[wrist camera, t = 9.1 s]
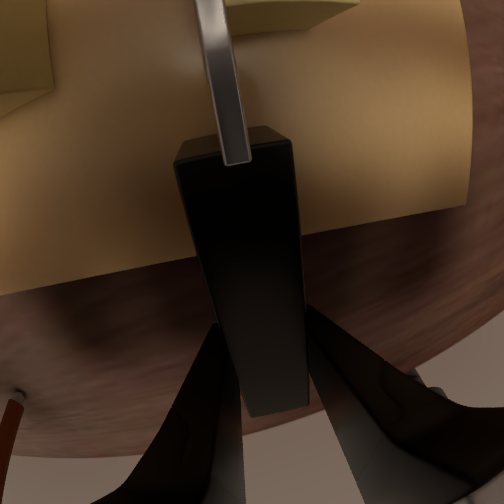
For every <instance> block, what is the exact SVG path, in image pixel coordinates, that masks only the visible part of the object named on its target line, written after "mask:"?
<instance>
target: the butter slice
mask: <svg viewBox="0 0 504 504" xmlns="http://www.w3.org/2000/svg"><path fill="white" fill-rule="evenodd" d="M359 4H360V0H225V5H226V10H227V16H228V21H229V27H230V32H231V36H234V35H242V34H251V33H260V32H272V31H287V30H309V29H311V28H313V27H315V26H317V25H319V24H320V23H322V22H324V21H326V20H328V19H330V18H332V17H334V16H336V15H338V14H340V13H342V12H344V11H346V10H348V9H350V8H352V7H355V6H357V5H359Z"/></svg>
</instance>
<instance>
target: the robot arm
mask: <svg viewBox="0 0 504 504" xmlns="http://www.w3.org/2000/svg"><path fill="white" fill-rule="evenodd" d="M306 310H307V350H308V369H309V372H310V375H311V377H312V380H313V382H314V384H315V387H316V389H317V391H318V394H319V396H320V398H321V401H322V403H323V405H324V408H325V410H326V412H327V415H328V417H329V420H330V422H331V424H332V426H333V429H334V431H335V434H336V436H337V438H338V440H339V443H340V445H341V448H342V450H343V452H344V455H345V457H346V459H347V462H348V464H349V466H350V469H351V471H352V474H353V476H354V478H355V481H356V482H357V486H358V488H359V490H360V493H361V495H362V497H363V500H364V502H365V504H504V407H497V408H475V407H474V408H473V407H467V406H463V405H460V404H457V403H455V402H453V401H451V400H449V399H447V398H446V397H444V396H442V395H440V394H438V393H436V392H435V391H433V390H431V389H429V388H427V387H426V386H424V385H422V384H420V383H419V382H417V381H415V380H414V379H412V378H410V377H409V376H407V375H405V374H404V373H403V372H401V371H400V370H398V369H397V368H395V367H394V366H392V365H391V364H390V363H388V362H387V361H384V359H383V358H381V357H380V356H379V355H377V354H376V353H375V352H373V351H372V350H371V349H369V348H368V347H366V346H365V345H364V344H362V343H361V342H360V341H358V340H357V339H356V338H354V337H353V336H352V335H350V334H349V333H347V332H346V331H345V330H343V329H342V328H341V327H339V326H338V325H337V324H335V323H334V322H333V321H331V320H330V319H329V318H327V317H326V316H325V315H323V314H322V313H320V312H319V311H318V310H316V309H315V308H314V307H312V306H311V305H310V304H306ZM91 504H246V497H245V480H244V462H243V443H242V422H241V400H240V385H239V381H238V378H237V375H236V372H235V369H234V366H233V363H232V360H231V356H230V353H229V350H228V348H227V347H226V346H225V345H224V342H223V339H222V336H221V333H220V330H219V327H218V324H217V323H213V324H212V326H211V328H210V330H209V332H208V334H207V336H206V338H205V340H204V342H203V344H202V346H201V348H200V350H199V352H198V354H197V356H196V358H195V360H194V362H193V364H192V366H191V368H190V370H189V372H188V374H187V376H186V378H185V380H184V382H183V384H182V386H181V388H180V390H179V392H178V394H177V397H176V399H175V401H174V403H173V405H172V408H170V410H169V412H168V415H167V417H166V419H165V420H164V422H163V424H162V426H161V428H160V430H159V432H158V433H157V435H156V436H155V438H154V440H153V441H152V443H151V444H150V446H149V447H148V449H147V450H146V452H145V453H144V455H143V456H142V458H141V459H140V461H139V462H138V464H137V465H136V467H135V468H134V470H133V471H132V473H131V474H130V476H129V477H128V478H127V480H126V481H125V482H124V483H123V484H122V485H121V486H120V487H119V488H117V489H116V490H115V491H113V492H111V493H110V494H108V495H106V496H104V497H102V498H101V499H99V500H97V501H95V502H93V503H91Z"/></svg>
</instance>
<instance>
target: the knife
mask: <svg viewBox="0 0 504 504" xmlns="http://www.w3.org/2000/svg"><path fill="white" fill-rule="evenodd" d="M193 6H194V12H195V17H196V23H197V29H198V34H199V40H200V45H201V51H202V56H203V62H204V67H205V73H206V78H207V83H208V89H209V94H210V99H211V105H212V110H213V115H214V121H215V126H216V131H217V134H213V135H208V136H203V137H199V138H194V139H190V140H185V141H184V142H183V143H182V145H181V147H180V149H179V151H178V153H177V155H176V157H175V160H174V162H173V169H174V173H175V177H176V181H177V185H178V189H179V193H180V197H181V201H182V204H183V208H184V212H185V216H186V219H187V223H188V227H189V230H190V234H191V237H192V241H193V244H194V248H195V251H196V255H197V258H198V262H199V265H200V269H201V272H202V275H203V279H204V282H205V285H206V289H207V292H208V295H209V298H210V302H211V305H212V308H213V311H214V314H215V317H216V320H217V324H218V327H219V330H220V333H221V336H222V339H223V342H224V345H225V346H226V347H227V348H228V350H229V353H230V356H231V360H232V363H233V366H234V369H235V372H236V375H237V378H238V381H239V385H240V391H241V394H242V397H243V399H244V402H245V405H246V407H247V410H248V413H249V416H250V417H251V418H254V417H259V416H264V415H269V414H274V413H279V412H283V411H288V410H292V409H296V408H300V407H304V406H308V405H309V369H308V350H307V310H306V292H305V276H304V261H303V248H302V235H301V223H300V212H299V202H298V191H297V182H296V172H295V163H294V154H293V146H292V142H291V140H290V139H288V138H287V137H285V136H283V135H282V134H280V133H279V132H277V131H275V130H274V129H272V128H270V127H269V126H266V125H263V126H257V127H251V128H247V125H246V119H245V113H244V107H243V101H242V95H241V89H240V83H239V78H238V72H237V66H236V60H235V55H234V49H233V43H232V38H231V32H230V27H229V21H228V16H227V10H226V5H225V0H193Z"/></svg>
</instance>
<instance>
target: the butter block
mask: <svg viewBox="0 0 504 504" xmlns="http://www.w3.org/2000/svg"><path fill="white" fill-rule="evenodd" d="M54 88H55V85H54V79H53V73H52V66H51V59H50V51H49V42H48V32H47V19H46V0H0V118H1V117H3V116H5V115H6V114H8V113H10V112H11V111H13V110H15V109H17V108H19V107H20V106H22V105H24V104H26V103H28V102H30V101H32V100H34V99H35V98H37V97H39V96H41V95H43V94H46V93H48V92H50V91H52V90H53V89H54Z"/></svg>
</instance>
